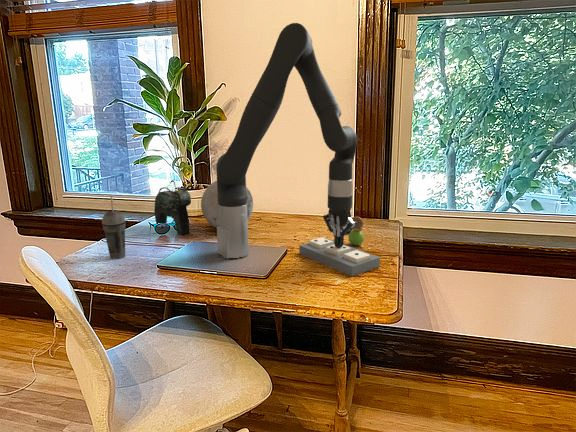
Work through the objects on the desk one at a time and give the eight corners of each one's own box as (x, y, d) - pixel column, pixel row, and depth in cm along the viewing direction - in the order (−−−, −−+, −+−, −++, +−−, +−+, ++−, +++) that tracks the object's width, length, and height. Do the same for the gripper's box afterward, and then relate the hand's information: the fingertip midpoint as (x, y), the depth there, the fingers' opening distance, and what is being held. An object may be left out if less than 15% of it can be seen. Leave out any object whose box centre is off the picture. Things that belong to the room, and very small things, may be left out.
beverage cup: (104, 261, 139) (96, 200, 134) (107, 254, 146) (100, 195, 141) (128, 259, 141) (122, 198, 136) (130, 252, 148) (124, 193, 143)
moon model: (192, 234, 167) (189, 182, 161) (217, 220, 185) (214, 173, 180) (241, 239, 161) (239, 185, 155) (261, 224, 179) (260, 175, 174)
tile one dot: (356, 267, 130) (357, 258, 129) (343, 261, 134) (343, 253, 133) (369, 262, 133) (370, 254, 132) (356, 257, 137) (356, 249, 137)
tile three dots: (337, 259, 136) (338, 251, 135) (325, 254, 140) (325, 246, 139) (350, 255, 139) (350, 247, 138) (338, 250, 143) (338, 242, 143)
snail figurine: (350, 240, 158) (351, 208, 155) (366, 244, 154) (368, 211, 151) (342, 244, 154) (343, 211, 151) (358, 248, 150) (359, 214, 147)
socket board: (352, 276, 127) (352, 266, 127) (299, 253, 146) (299, 245, 145) (379, 266, 134) (380, 257, 134) (326, 246, 153) (326, 238, 152)
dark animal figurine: (194, 233, 167) (191, 182, 162) (180, 237, 163) (176, 184, 157) (165, 224, 180) (161, 175, 175) (151, 227, 175) (146, 178, 170)
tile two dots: (320, 252, 142) (320, 244, 141) (309, 247, 146) (309, 240, 145) (333, 248, 145) (333, 240, 144) (321, 244, 149) (321, 236, 149)
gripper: (316, 191, 137) (316, 243, 142) (346, 198, 127) (345, 255, 132) (333, 188, 142) (332, 239, 146) (364, 195, 132) (362, 249, 136)
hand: (338, 246), depth 139 cm, fingers closed
